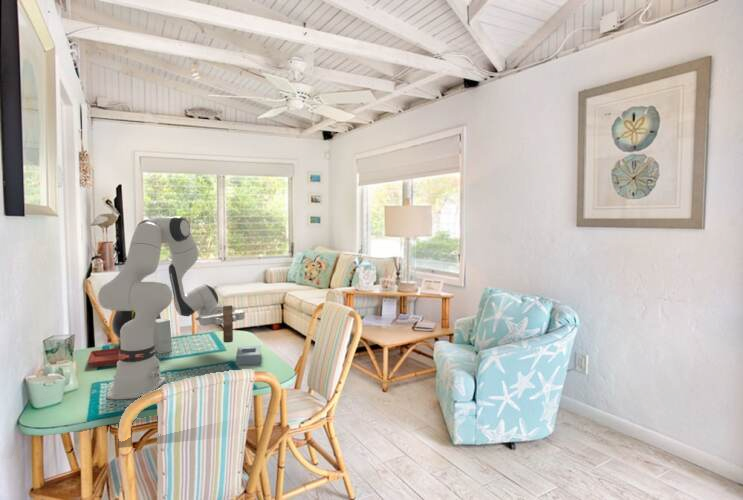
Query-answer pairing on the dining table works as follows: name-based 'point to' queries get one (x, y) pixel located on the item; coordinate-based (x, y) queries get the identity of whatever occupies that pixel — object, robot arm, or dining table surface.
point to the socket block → (248, 355)
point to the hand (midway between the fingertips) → (228, 320)
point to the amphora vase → (122, 321)
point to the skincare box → (162, 335)
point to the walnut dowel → (227, 323)
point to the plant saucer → (103, 357)
